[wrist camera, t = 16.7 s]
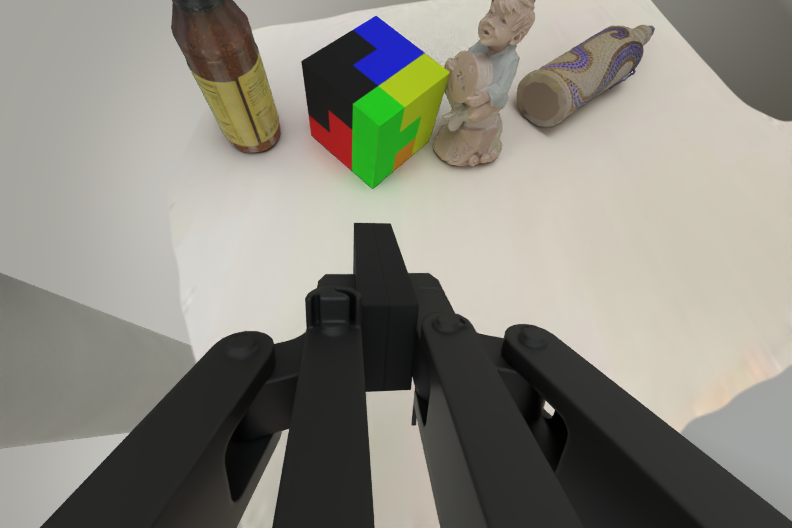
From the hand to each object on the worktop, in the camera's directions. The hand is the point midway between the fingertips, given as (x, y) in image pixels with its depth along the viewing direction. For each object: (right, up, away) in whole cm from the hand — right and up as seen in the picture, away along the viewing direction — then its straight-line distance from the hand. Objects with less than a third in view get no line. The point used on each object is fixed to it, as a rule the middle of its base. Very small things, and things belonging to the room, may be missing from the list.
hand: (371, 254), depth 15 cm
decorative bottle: (+28, +24, +36) cm, 52 cm away
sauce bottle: (-16, +14, +27) cm, 34 cm away
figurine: (+9, +14, +30) cm, 35 cm away
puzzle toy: (-2, +15, +29) cm, 32 cm away
